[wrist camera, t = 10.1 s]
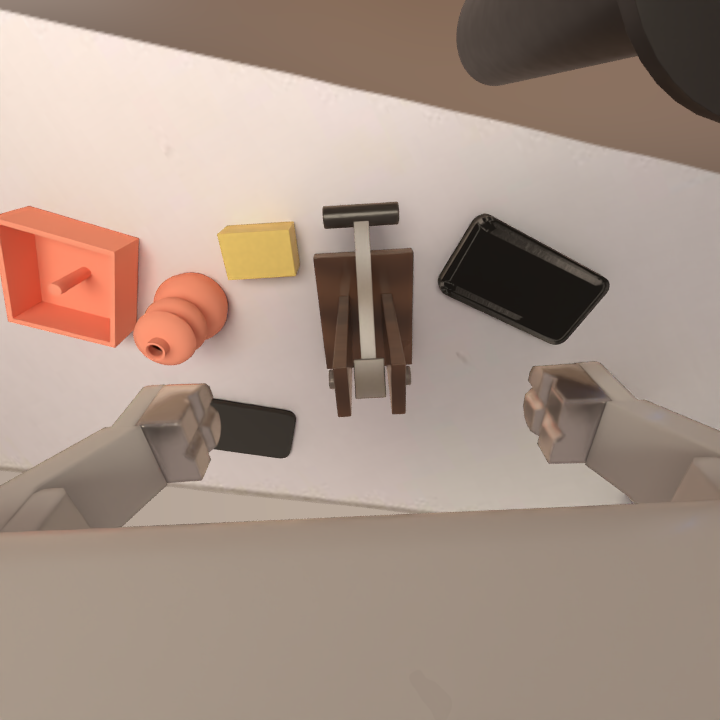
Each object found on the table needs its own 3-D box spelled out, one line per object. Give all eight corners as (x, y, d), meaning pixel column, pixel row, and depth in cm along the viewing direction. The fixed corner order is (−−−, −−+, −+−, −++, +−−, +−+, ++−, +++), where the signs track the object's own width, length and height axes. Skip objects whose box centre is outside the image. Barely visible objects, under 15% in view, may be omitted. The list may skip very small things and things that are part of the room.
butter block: (226, 225, 35) (216, 234, 32) (293, 221, 35) (288, 229, 32) (237, 269, 37) (228, 280, 34) (299, 265, 37) (295, 276, 34)
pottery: (40, 302, 39) (-47, 353, 30) (29, 205, 34) (-78, 235, 26) (224, 349, 42) (191, 408, 33) (237, 267, 37) (203, 311, 29)
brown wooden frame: (314, 253, 36) (294, 319, 25) (411, 247, 36) (438, 310, 24) (327, 362, 43) (317, 455, 31) (410, 358, 42) (431, 450, 31)
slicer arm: (325, 212, 30) (321, 200, 28) (396, 208, 30) (398, 196, 28) (335, 396, 30) (332, 400, 28) (406, 392, 30) (409, 396, 28)
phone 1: (288, 460, 49) (164, 442, 47) (289, 455, 50) (167, 438, 48) (296, 415, 45) (161, 394, 43) (297, 411, 46) (164, 390, 44)
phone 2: (482, 211, 33) (615, 283, 37) (479, 209, 34) (608, 279, 38) (434, 290, 37) (559, 349, 41) (432, 286, 38) (554, 343, 41)
